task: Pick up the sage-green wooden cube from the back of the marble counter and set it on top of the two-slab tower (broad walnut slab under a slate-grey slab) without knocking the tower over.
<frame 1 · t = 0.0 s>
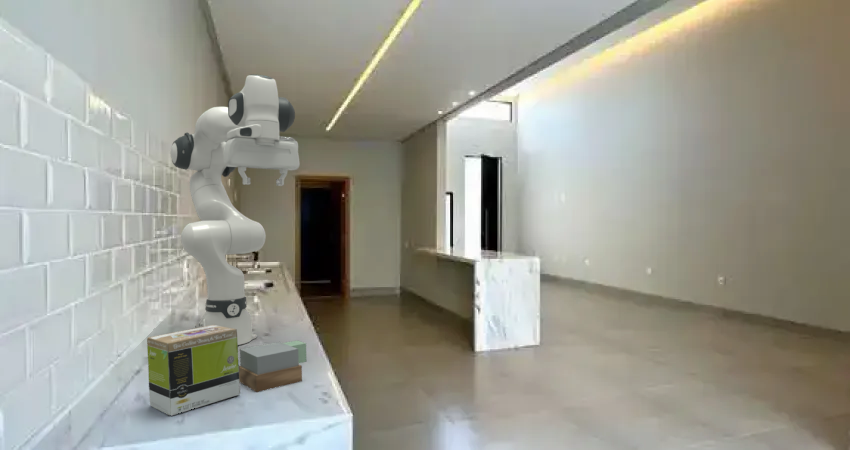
hand: (263, 185, 137), 48 cm above the counter, fingers open, 8 cm apart
sage cube: (293, 361, 136), on the counter
tea box: (195, 402, 106), on the counter
slate slab: (269, 365, 119), point 4 cm above the counter, touching walnut slab
walnut slab: (269, 382, 119), on the counter, touching slate slab
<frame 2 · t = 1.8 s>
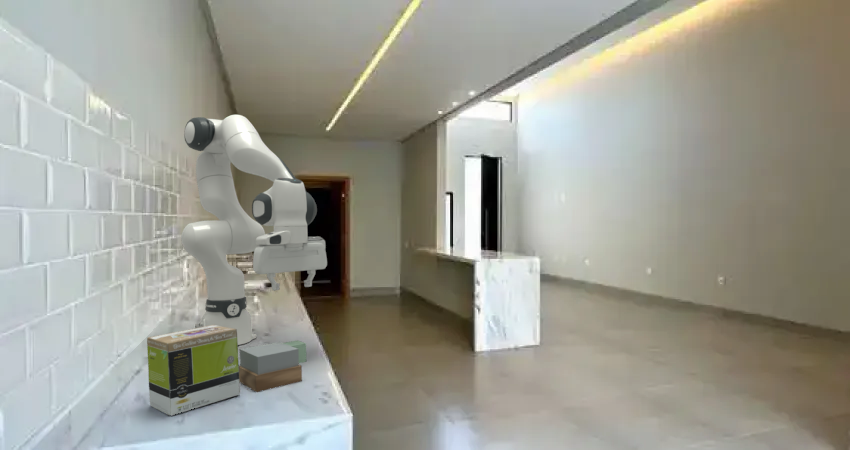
hand: (292, 288, 136), 20 cm above the counter, fingers open, 8 cm apart
nothing on the counter moved.
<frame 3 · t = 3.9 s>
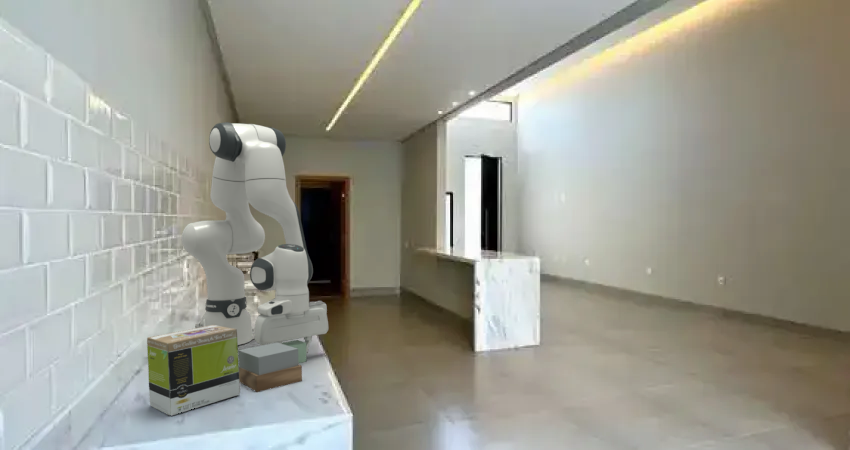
hand: (293, 355, 136), 2 cm above the counter, fingers closed on sage cube, 5 cm apart
sage cube: (293, 361, 136), on the counter, touching gripper
everything else where it was.
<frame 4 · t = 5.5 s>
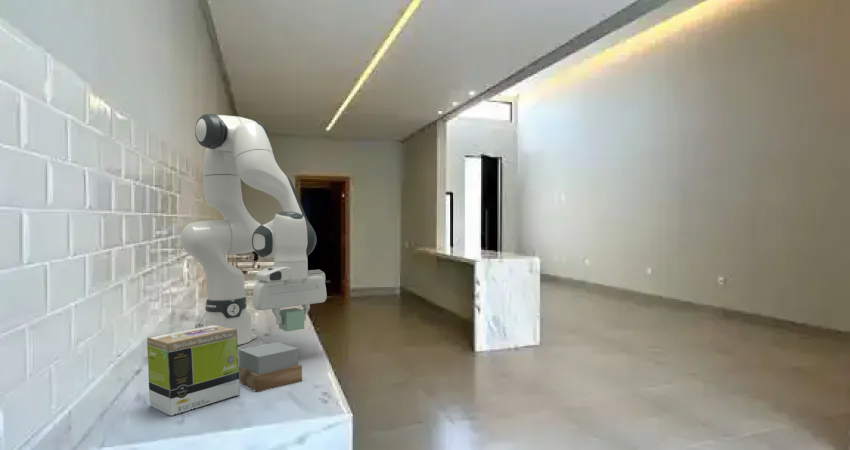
hand: (291, 322, 136), 10 cm above the counter, fingers closed on sage cube, 5 cm apart
sage cube: (291, 328, 136), point 9 cm above the counter, touching gripper
everything else where it was.
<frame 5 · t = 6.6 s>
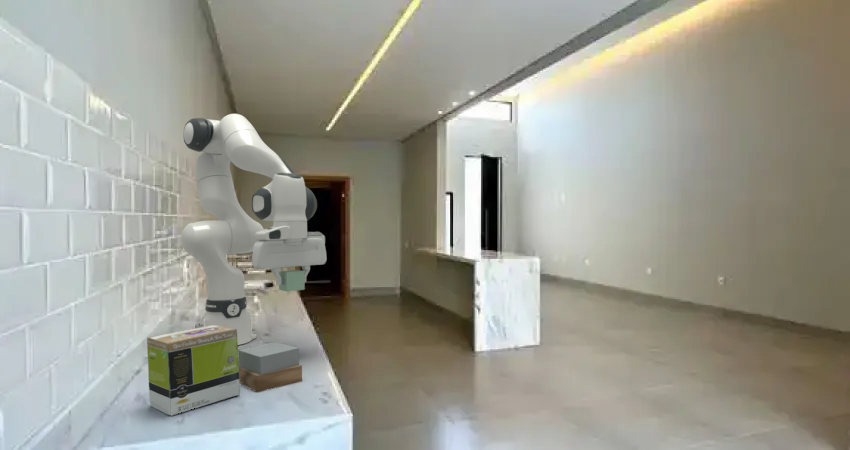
hand: (291, 283, 135), 21 cm above the counter, fingers closed on sage cube, 5 cm apart
sage cube: (291, 289, 135), point 19 cm above the counter, touching gripper
everything else where it was.
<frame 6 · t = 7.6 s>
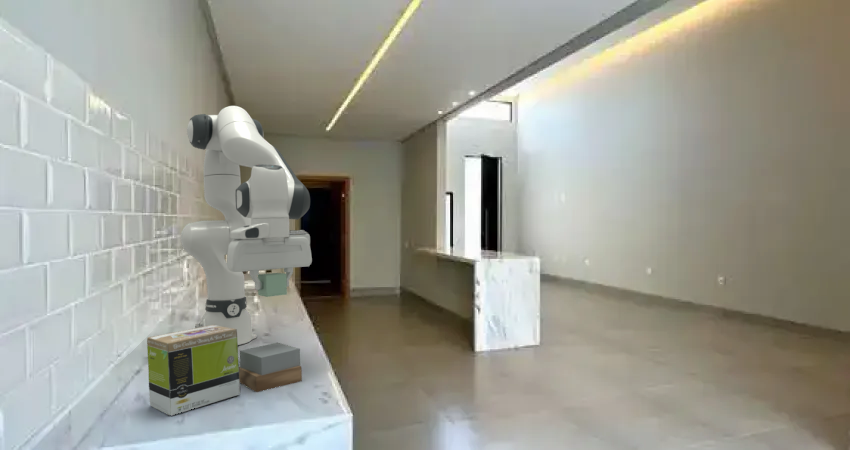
hand: (272, 288, 121), 22 cm above the counter, fingers closed on sage cube, 5 cm apart
sage cube: (272, 294, 121), point 20 cm above the counter, touching gripper
everything else where it was.
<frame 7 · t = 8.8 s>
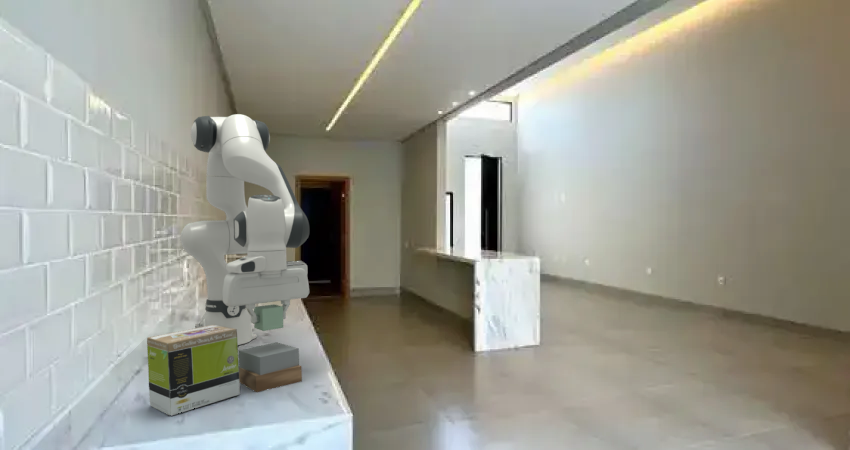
hand: (268, 321, 119), 14 cm above the counter, fingers closed on sage cube, 5 cm apart
sage cube: (268, 327, 119), point 13 cm above the counter, touching gripper
everything else where it was.
when the fingers open (11 cm above the counter, at t = 9.9 s): sage cube drops 2 cm, resting on slate slab.
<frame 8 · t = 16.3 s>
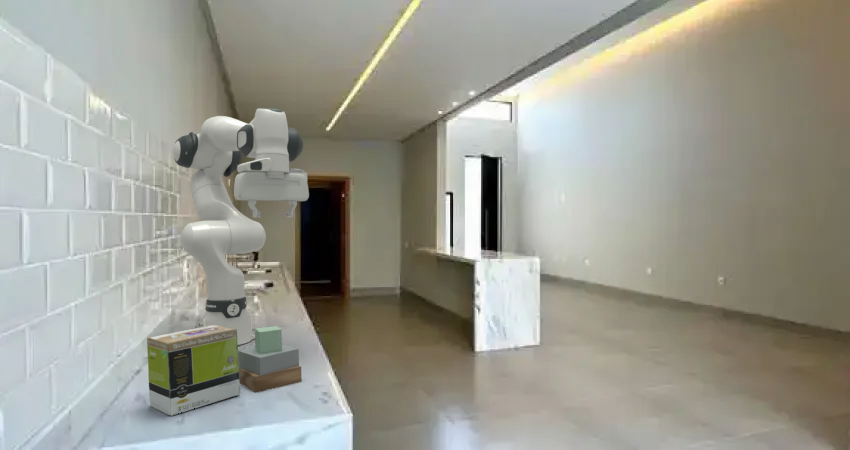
hand: (273, 217, 137), 39 cm above the counter, fingers open, 8 cm apart
sage cube: (268, 350, 118), point 7 cm above the counter, touching slate slab
slate slab: (268, 366, 119), point 3 cm above the counter, touching sage cube, walnut slab
everything else where it was.
at the end: sage cube 0.3 cm off-centre on the walnut slab, point 8.0 cm above the walnut slab's base; sage cube tilted 0°; slate slab moved 0.6 cm from its start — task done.
